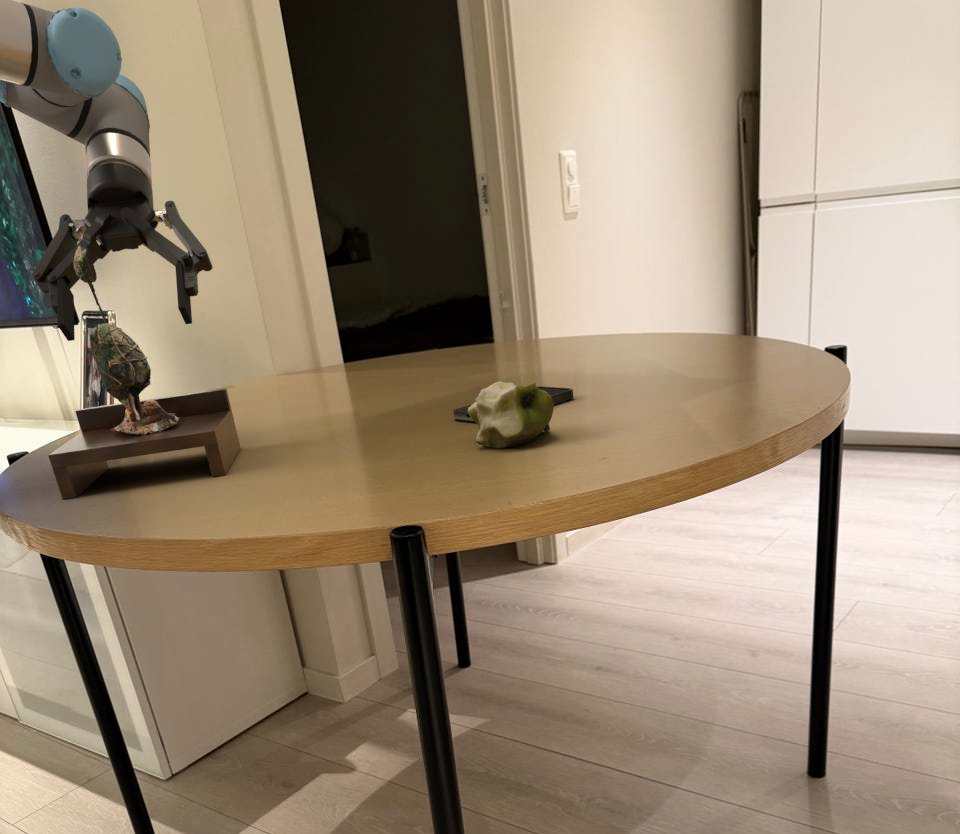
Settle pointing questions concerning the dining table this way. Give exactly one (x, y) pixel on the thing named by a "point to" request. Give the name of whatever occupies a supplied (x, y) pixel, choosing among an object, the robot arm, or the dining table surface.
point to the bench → (146, 438)
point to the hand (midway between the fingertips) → (125, 324)
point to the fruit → (511, 414)
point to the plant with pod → (122, 365)
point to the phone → (555, 393)
